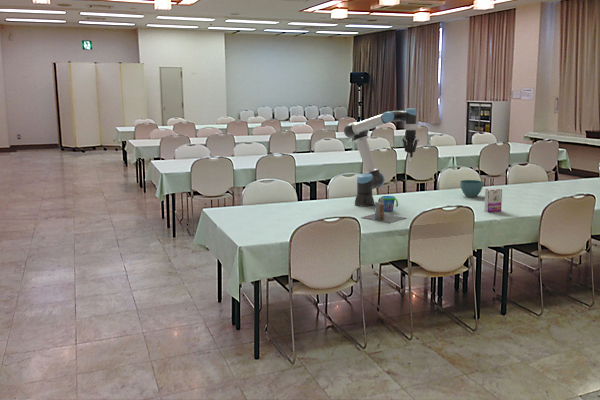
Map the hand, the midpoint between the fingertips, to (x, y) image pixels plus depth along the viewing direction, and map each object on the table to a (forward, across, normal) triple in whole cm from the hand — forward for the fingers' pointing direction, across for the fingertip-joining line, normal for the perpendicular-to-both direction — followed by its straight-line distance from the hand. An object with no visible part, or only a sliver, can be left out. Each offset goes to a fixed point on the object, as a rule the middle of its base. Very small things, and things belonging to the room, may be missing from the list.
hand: (409, 161), depth 427 cm
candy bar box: (+35, +54, +27) cm, 70 cm away
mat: (+34, +8, -43) cm, 56 cm away
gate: (+34, +6, -43) cm, 55 cm away
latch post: (+34, +8, -51) cm, 62 cm away
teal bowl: (+35, +16, +68) cm, 78 cm away
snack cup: (+35, -4, -21) cm, 41 cm away
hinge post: (+34, +1, -36) cm, 50 cm away
